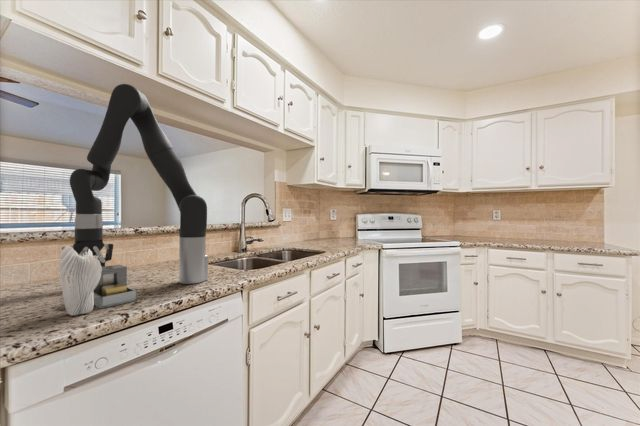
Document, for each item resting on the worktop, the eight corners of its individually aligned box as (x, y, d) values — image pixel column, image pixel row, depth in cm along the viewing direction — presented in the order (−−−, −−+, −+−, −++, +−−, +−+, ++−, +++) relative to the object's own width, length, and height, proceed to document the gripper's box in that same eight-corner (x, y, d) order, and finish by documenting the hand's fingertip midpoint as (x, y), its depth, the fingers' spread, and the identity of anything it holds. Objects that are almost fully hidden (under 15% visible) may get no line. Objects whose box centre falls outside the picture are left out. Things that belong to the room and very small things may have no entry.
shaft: (92, 280, 99) (92, 258, 99) (114, 290, 86) (114, 265, 86) (82, 282, 97) (82, 259, 97) (102, 293, 84) (102, 266, 84)
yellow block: (121, 283, 85) (126, 285, 83) (121, 296, 85) (126, 299, 83) (101, 287, 81) (106, 289, 79) (101, 300, 81) (106, 303, 79)
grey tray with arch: (120, 292, 91) (120, 264, 91) (137, 300, 83) (137, 269, 83) (85, 299, 84) (85, 268, 84) (100, 308, 76) (100, 274, 76)
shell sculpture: (94, 305, 79) (94, 242, 79) (102, 312, 73) (102, 244, 73) (54, 313, 72) (54, 244, 72) (59, 321, 67) (60, 247, 67)
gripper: (109, 226, 105) (109, 270, 105) (58, 227, 93) (58, 277, 93) (117, 226, 101) (116, 272, 100) (64, 228, 89) (63, 280, 89)
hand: (88, 274), depth 97 cm, fingers open, 6 cm apart
